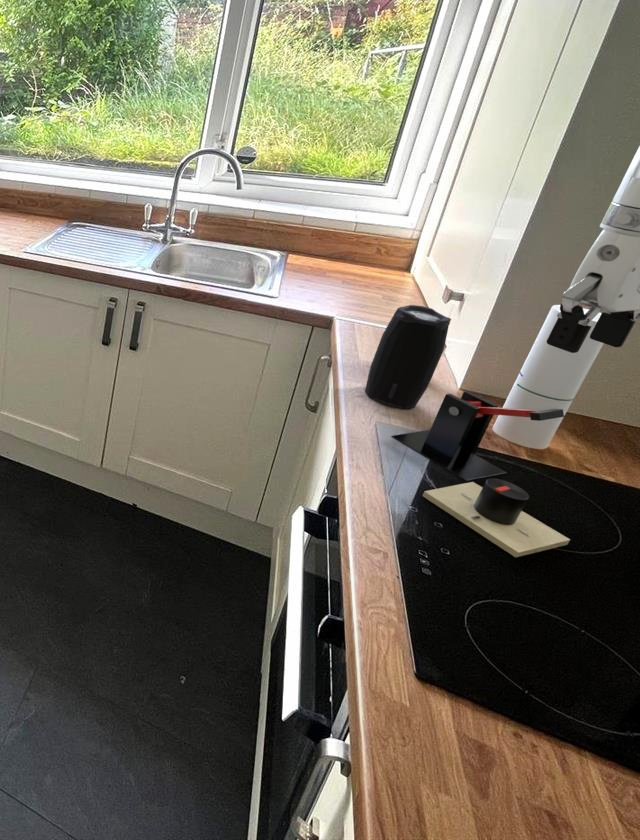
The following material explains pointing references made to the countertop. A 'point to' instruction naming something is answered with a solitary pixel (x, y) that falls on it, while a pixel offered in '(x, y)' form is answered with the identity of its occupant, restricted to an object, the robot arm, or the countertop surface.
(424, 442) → the black lever stand
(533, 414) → the lever
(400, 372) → the portable speaker
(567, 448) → the countertop surface
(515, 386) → the cylindrical container
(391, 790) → the countertop surface
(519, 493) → the knob
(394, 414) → the countertop surface
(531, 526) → the panel
